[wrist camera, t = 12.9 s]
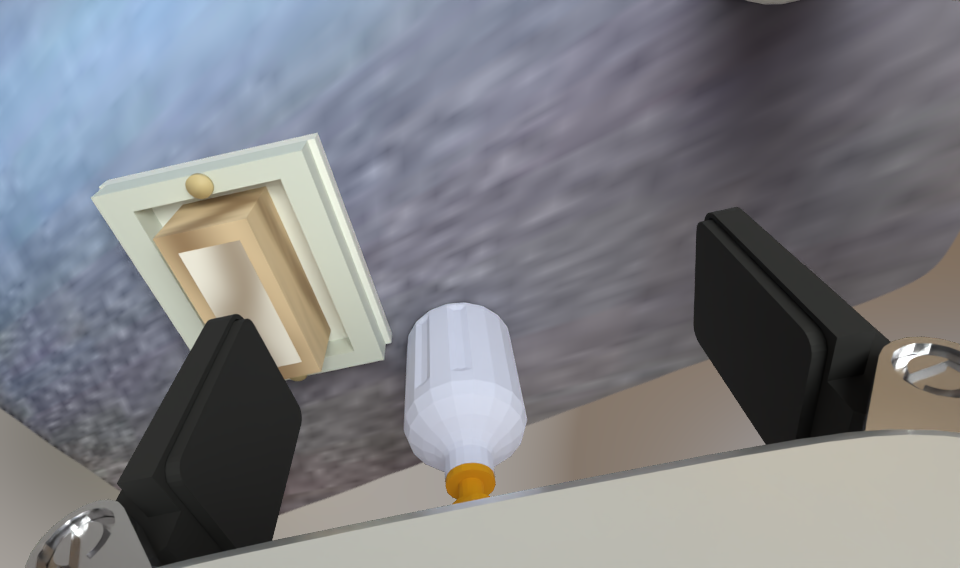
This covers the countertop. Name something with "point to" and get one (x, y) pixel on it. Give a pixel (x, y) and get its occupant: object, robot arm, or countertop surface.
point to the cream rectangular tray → (304, 213)
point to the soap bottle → (463, 397)
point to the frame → (248, 274)
